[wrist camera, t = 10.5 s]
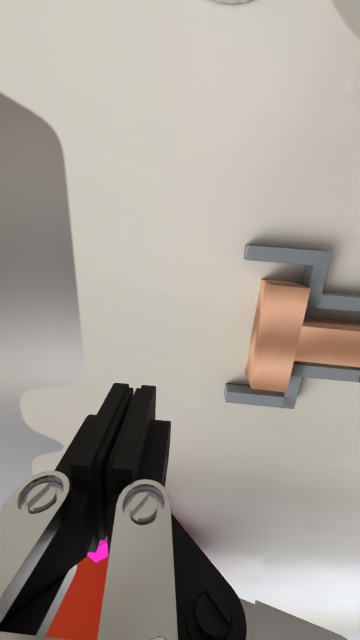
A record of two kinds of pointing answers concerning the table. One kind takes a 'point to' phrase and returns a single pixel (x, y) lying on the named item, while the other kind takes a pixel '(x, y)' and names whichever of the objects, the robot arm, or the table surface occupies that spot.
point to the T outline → (317, 299)
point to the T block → (294, 337)
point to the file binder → (81, 603)
